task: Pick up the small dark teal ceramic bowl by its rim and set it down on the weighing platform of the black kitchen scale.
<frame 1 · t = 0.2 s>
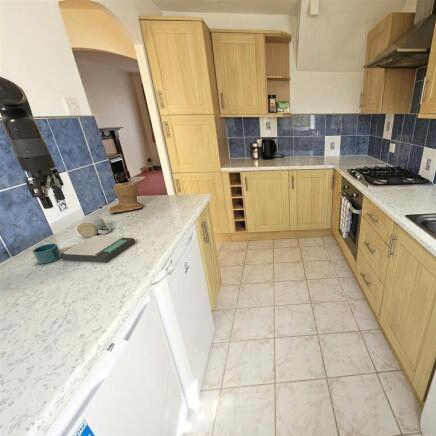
hand: (55, 204, 80), 21 cm above the countertop, tool pointing down, fingers open, 8 cm apart
ceramic mug: (98, 233, 107), on the countertop
scale: (101, 251, 93), on the countertop
bowl: (51, 259, 88), on the countertop
brown upright piece: (128, 210, 134), on the countertop
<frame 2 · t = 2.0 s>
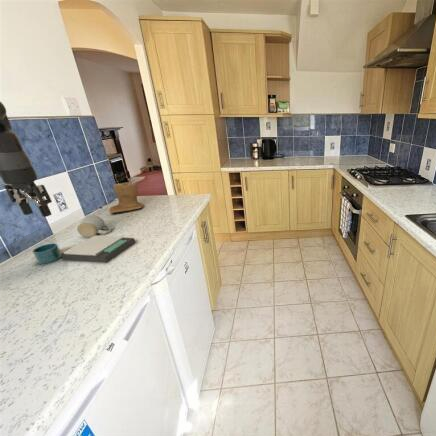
hand: (38, 215, 81), 18 cm above the countertop, tool pointing down, fingers open, 8 cm apart
nothing on the countertop moved.
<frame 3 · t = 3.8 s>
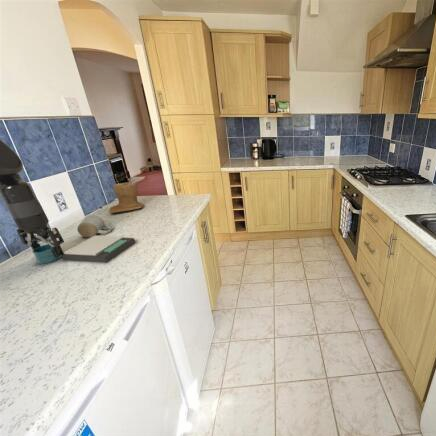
hand: (49, 254, 87), 2 cm above the countertop, tool pointing down, fingers open, 8 cm apart
nothing on the countertop moved.
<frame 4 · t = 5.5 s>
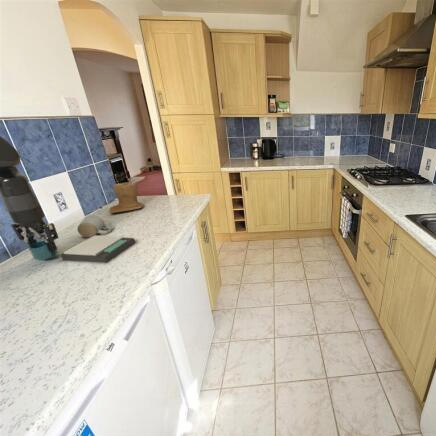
hand: (44, 250, 86), 4 cm above the countertop, tool pointing down, fingers closed on bowl, 6 cm apart
bowl: (46, 256, 87), point 2 cm above the countertop, touching gripper
everything else where it was.
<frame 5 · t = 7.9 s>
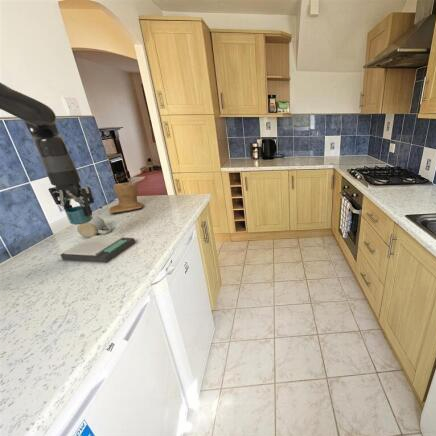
hand: (80, 215, 86), 15 cm above the countertop, tool pointing down, fingers closed on bowl, 6 cm apart
bowl: (82, 221, 87), point 13 cm above the countertop, touching gripper
everything else where it was.
when the fingers open (6 cm above the countertop, at t = 10.5 s): bowl stays where it is, resting on scale.
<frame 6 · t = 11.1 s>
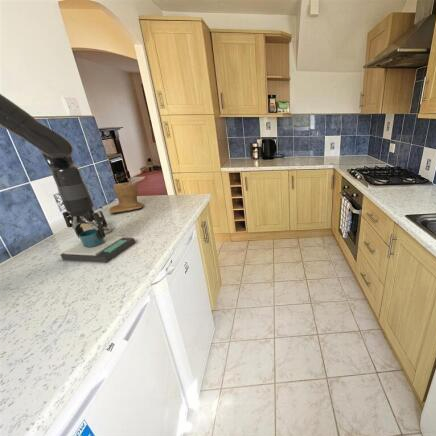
hand: (92, 237, 90), 6 cm above the countertop, tool pointing down, fingers open, 8 cm apart
bowl: (94, 244, 91), point 3 cm above the countertop, touching scale
everything else where it was.
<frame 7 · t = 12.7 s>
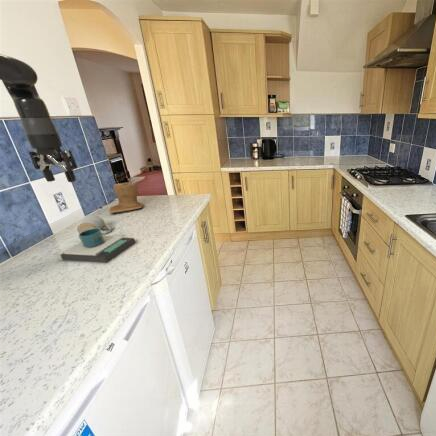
hand: (61, 181, 85), 27 cm above the countertop, tool pointing down, fingers open, 8 cm apart
nothing on the countertop moved.
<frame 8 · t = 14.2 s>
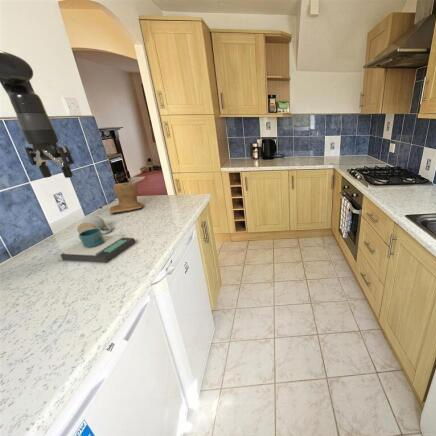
hand: (58, 177, 85), 28 cm above the countertop, tool pointing down, fingers open, 8 cm apart
nothing on the countertop moved.
at the end: bowl inside the target area on the scale (0.2 cm from its centre), point 3.2 cm above the scale's base; bowl tilted 0°; the gripper is holding nothing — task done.
